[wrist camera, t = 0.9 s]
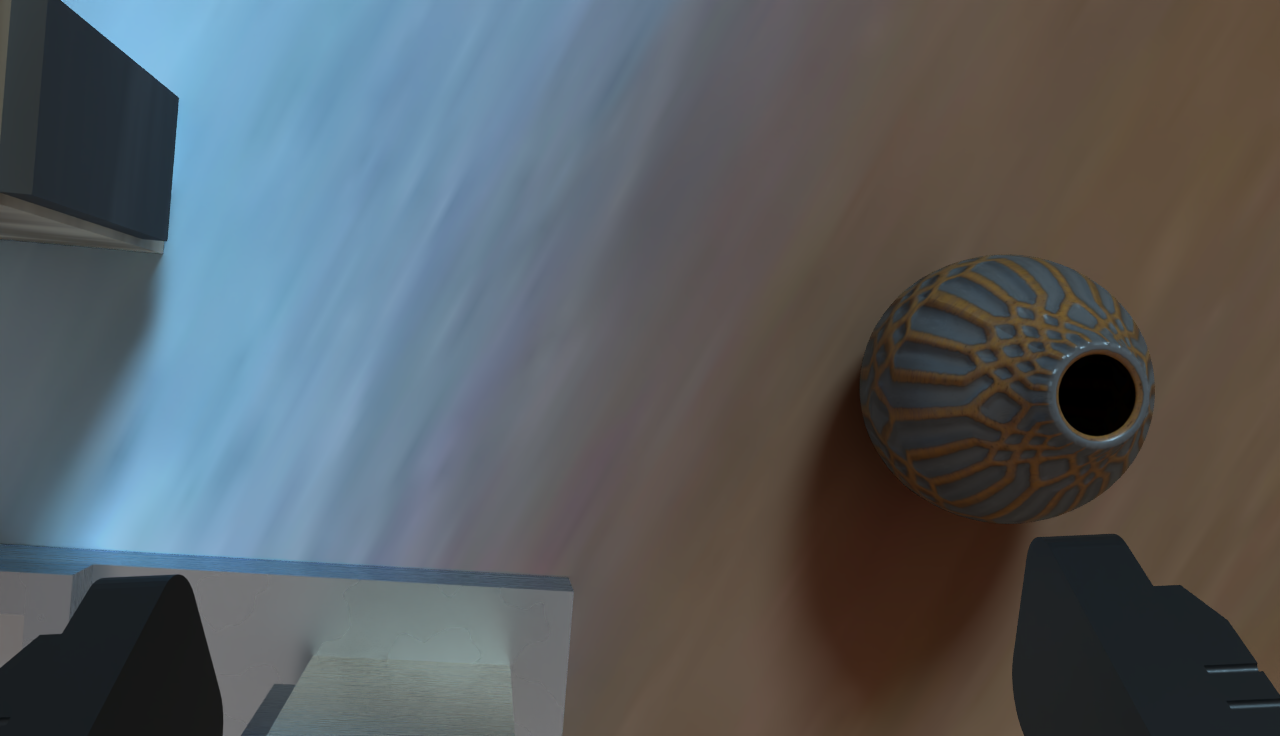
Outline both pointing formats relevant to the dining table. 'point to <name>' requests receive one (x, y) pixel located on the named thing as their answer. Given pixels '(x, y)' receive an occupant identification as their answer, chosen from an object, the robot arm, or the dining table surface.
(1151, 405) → the vase
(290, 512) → the dining table surface
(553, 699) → the grey stand with upright
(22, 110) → the tall beige block
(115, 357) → the dining table surface
